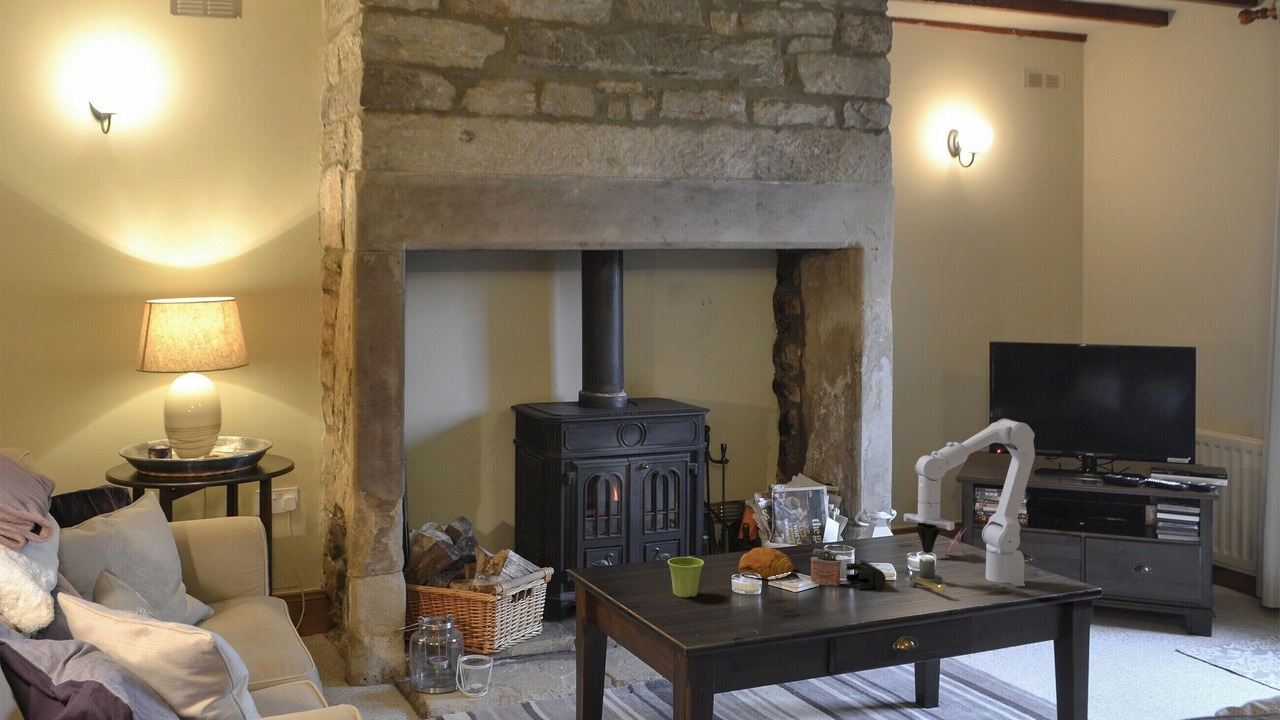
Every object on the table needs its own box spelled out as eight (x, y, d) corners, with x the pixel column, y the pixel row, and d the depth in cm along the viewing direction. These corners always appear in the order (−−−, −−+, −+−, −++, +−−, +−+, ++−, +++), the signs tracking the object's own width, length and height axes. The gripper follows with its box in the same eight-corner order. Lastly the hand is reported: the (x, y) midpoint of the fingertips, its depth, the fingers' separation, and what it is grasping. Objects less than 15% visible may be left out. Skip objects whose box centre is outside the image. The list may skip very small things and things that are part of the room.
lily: (962, 556, 336) (946, 527, 337) (990, 548, 327) (974, 519, 327) (938, 574, 329) (922, 545, 330) (967, 567, 320) (950, 537, 320)
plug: (935, 578, 303) (936, 554, 302) (946, 586, 295) (947, 561, 294) (907, 578, 302) (907, 554, 301) (917, 586, 294) (918, 562, 293)
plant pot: (707, 591, 293) (708, 558, 292) (697, 601, 284) (698, 567, 283) (673, 588, 296) (673, 555, 295) (662, 597, 287) (662, 564, 286)
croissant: (759, 571, 321) (756, 543, 321) (802, 574, 310) (800, 545, 310) (725, 579, 311) (723, 550, 311) (769, 583, 300) (767, 553, 300)
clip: (946, 598, 283) (947, 583, 283) (940, 599, 283) (941, 583, 282) (913, 585, 295) (914, 570, 295) (908, 585, 295) (908, 570, 294)
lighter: (841, 587, 297) (842, 550, 297) (838, 590, 294) (839, 553, 294) (812, 583, 301) (813, 546, 300) (808, 586, 298) (809, 549, 297)
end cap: (885, 594, 291) (886, 568, 291) (860, 595, 290) (860, 570, 289) (870, 584, 301) (871, 559, 301) (845, 585, 300) (846, 560, 299)
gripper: (897, 499, 299) (896, 549, 300) (943, 507, 288) (942, 560, 289) (913, 495, 304) (911, 545, 305) (959, 504, 293) (958, 555, 294)
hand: (927, 552), depth 297 cm, fingers closed
